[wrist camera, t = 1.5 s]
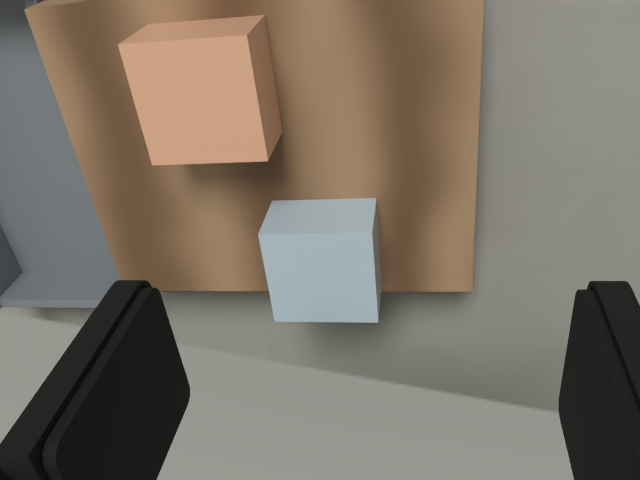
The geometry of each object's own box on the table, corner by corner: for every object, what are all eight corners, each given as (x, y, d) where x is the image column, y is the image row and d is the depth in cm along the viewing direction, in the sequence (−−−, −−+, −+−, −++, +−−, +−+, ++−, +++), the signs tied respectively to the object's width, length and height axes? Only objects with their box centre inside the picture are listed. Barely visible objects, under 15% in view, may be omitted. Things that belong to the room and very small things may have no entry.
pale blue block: (376, 198, 28) (372, 232, 25) (381, 283, 31) (378, 322, 28) (272, 200, 29) (257, 234, 26) (286, 283, 31) (274, 321, 29)
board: (477, -47, 25) (485, -32, 22) (467, 252, 33) (472, 291, 30) (64, -9, 28) (24, 9, 25) (148, 255, 36) (124, 290, 33)
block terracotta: (264, 15, 24) (246, 34, 21) (282, 131, 27) (268, 161, 24) (148, 24, 25) (117, 44, 22) (176, 136, 28) (152, 165, 25)
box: (47, -43, 27) (-19, -22, 23) (149, 274, 37) (115, 329, 33) (-118, -25, 29) (-208, -3, 25) (22, 275, 39) (-26, 327, 34)
